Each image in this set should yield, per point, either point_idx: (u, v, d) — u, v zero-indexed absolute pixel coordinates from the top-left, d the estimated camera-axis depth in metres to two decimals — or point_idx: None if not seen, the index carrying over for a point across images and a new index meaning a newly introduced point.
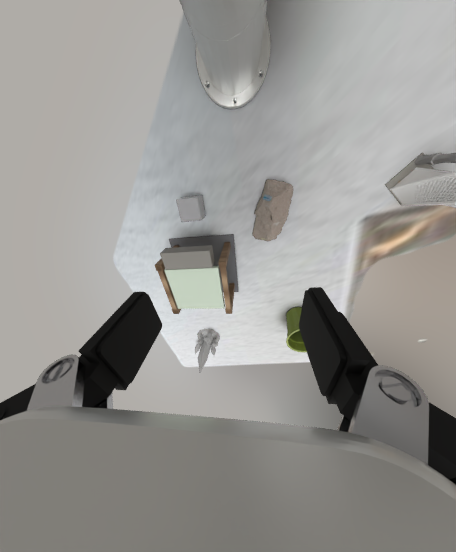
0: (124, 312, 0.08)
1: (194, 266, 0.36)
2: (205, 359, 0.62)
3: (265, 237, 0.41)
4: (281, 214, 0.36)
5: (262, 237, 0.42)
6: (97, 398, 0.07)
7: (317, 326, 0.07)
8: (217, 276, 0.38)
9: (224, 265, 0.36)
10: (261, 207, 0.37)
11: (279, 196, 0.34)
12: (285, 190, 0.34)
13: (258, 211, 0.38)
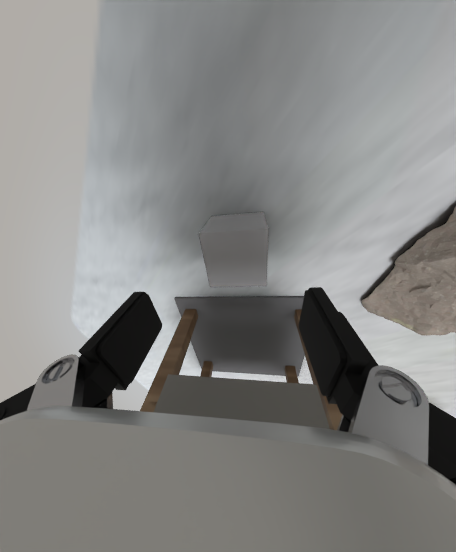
0: (124, 312, 0.08)
1: None
2: None
3: (416, 325, 0.16)
4: None
5: (399, 319, 0.17)
6: (96, 398, 0.07)
7: (317, 326, 0.07)
8: None
9: None
10: None
11: None
12: None
13: (428, 265, 0.14)
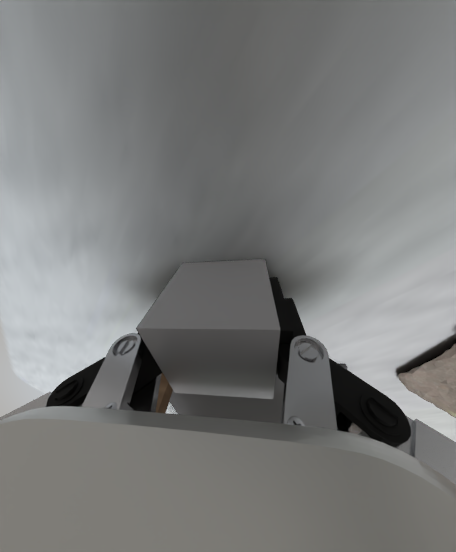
0: None
1: None
2: None
3: None
4: None
5: None
6: (153, 373, 0.07)
7: None
8: None
9: None
10: None
11: None
12: None
13: None
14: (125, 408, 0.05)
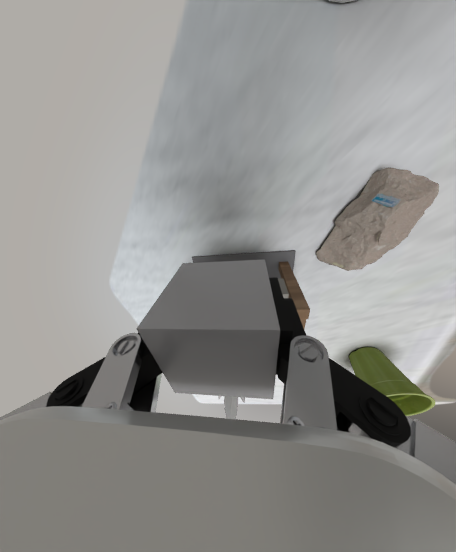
0: None
1: None
2: (235, 412, 0.47)
3: (344, 263, 0.25)
4: (396, 234, 0.21)
5: (336, 262, 0.26)
6: (153, 373, 0.07)
7: None
8: None
9: (305, 314, 0.20)
10: (362, 215, 0.21)
11: (413, 201, 0.18)
12: (428, 193, 0.18)
13: (349, 220, 0.23)
14: (125, 408, 0.05)
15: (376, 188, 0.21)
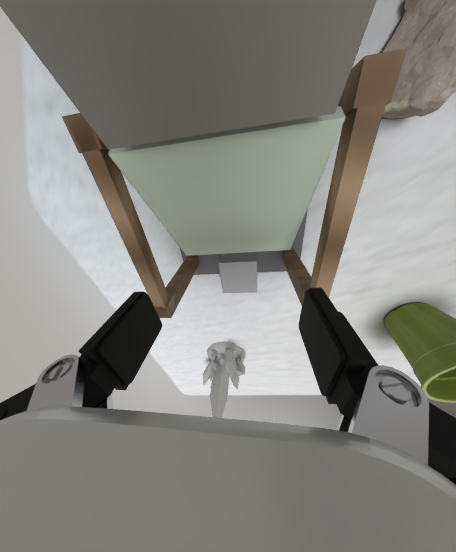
0: (124, 312, 0.08)
1: (241, 115, 0.07)
2: (224, 400, 0.34)
3: (414, 91, 0.13)
4: None
5: (394, 99, 0.14)
6: (96, 398, 0.07)
7: (317, 326, 0.07)
8: (317, 165, 0.10)
9: (388, 82, 0.07)
10: None
11: None
12: None
13: None
14: None
15: None
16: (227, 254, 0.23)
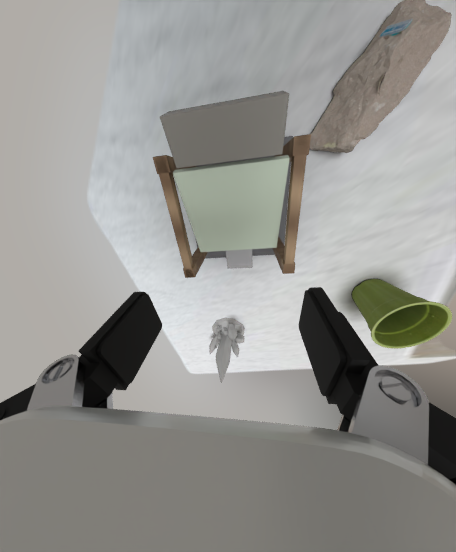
0: (124, 312, 0.08)
1: (241, 154, 0.16)
2: (227, 362, 0.42)
3: (337, 139, 0.22)
4: (398, 85, 0.19)
5: (329, 142, 0.23)
6: (96, 398, 0.07)
7: (317, 326, 0.07)
8: (282, 182, 0.19)
9: (306, 146, 0.16)
10: (366, 59, 0.19)
11: (424, 28, 0.16)
12: (440, 20, 0.16)
13: (351, 75, 0.20)
14: None
15: (385, 30, 0.18)
16: None
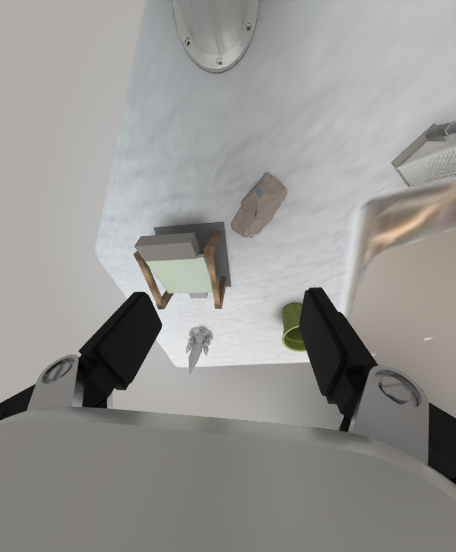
0: (124, 312, 0.08)
1: (176, 258, 0.32)
2: (196, 359, 0.58)
3: (242, 231, 0.38)
4: (266, 214, 0.34)
5: (239, 230, 0.39)
6: (96, 398, 0.07)
7: (317, 326, 0.07)
8: (204, 265, 0.34)
9: (210, 253, 0.32)
10: (250, 198, 0.34)
11: (271, 194, 0.32)
12: (279, 191, 0.32)
13: (245, 201, 0.35)
14: None
15: (260, 184, 0.34)
16: None
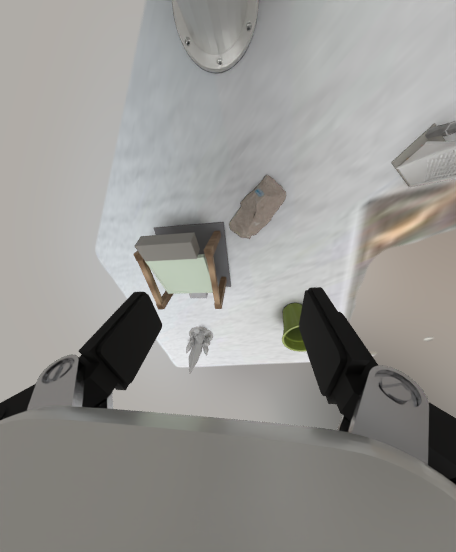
0: (124, 312, 0.08)
1: (176, 258, 0.32)
2: (196, 359, 0.58)
3: (240, 232, 0.38)
4: (264, 216, 0.34)
5: (237, 231, 0.39)
6: (96, 398, 0.07)
7: (317, 326, 0.07)
8: (204, 265, 0.34)
9: (210, 253, 0.32)
10: (249, 199, 0.34)
11: (271, 197, 0.32)
12: (278, 194, 0.32)
13: (245, 202, 0.35)
14: None
15: (260, 186, 0.34)
16: None
